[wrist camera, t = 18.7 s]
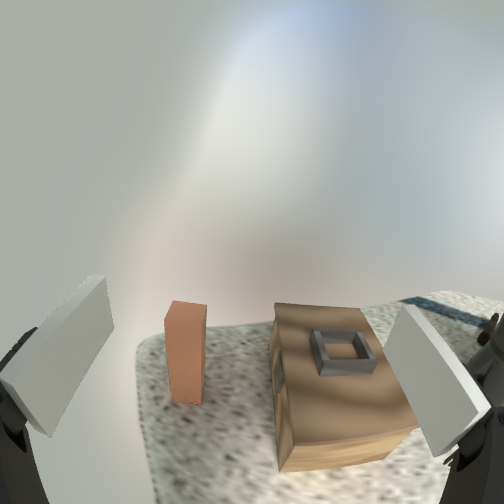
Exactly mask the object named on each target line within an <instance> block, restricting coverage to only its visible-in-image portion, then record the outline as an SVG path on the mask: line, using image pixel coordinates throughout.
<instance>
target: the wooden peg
mask: <svg viewBox="0 0 504 504" xmlns="http://www.w3.org/2000/svg"><path fill="white" fill-rule="evenodd" d="M206 313H207V305H202V304H195V303H187V302H180V301H173V302H172V304H171V306H170V308H169V311H168V313H167V315H166V317H165V320H164V326H165V339H166V351H167V361H168V371H169V380H170V388H171V395H172V400H174V401H180V402H186V403H192V404H199V405H201V402H202V396H203V390H204V383H205V339H206Z"/></svg>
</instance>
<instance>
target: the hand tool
mask: <svg viewBox="0 0 504 504" xmlns="http://www.w3.org/2000/svg"><path fill="white" fill-rule="evenodd" d="M498 319H499V314H498V313H494V315H493V316H492V317H491V319H490V321H489V323H488V324H487V326H486V328H485V329H484V331H483V332H482V333H481V334H480V335H479V337H478V339H477V341H478V343H479V344H481V345H482V346H485V345H486V344H487V343H488V341H489V340H490V338H491V336H492V335H493V333H494V328H495V326H496V323H497V321H498Z"/></svg>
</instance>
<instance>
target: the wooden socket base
mask: <svg viewBox="0 0 504 504" xmlns="http://www.w3.org/2000/svg"><path fill="white" fill-rule="evenodd" d="M274 308H275V315H276V316H275V320H274V325H273V330H272V335H271V339H270V344H269V353H270V365H271V376H272V388H273V399H274V411H275V423H276V435H277V448H278V461H279V472H298V471H312V470H322V469H331V468H338V467H345V466H351V465H357V464H362V463H367V462H372V461H377V460H381V459H384V458H385V457H386V456H387V455H388V454H389V453H390V452H391V451H392V450H394V449H395V448H396V446H397V445H398V444H399V443H400V442H401V441H402V440H403V439H404V438H405V437H406V436H407V435H408V434H409V433H410V432H411V431H412V429H416V428H420V425H419V423H418V420H417V418H416V416H415V414H414V412H413V410H412V408H411V406H410V403H409V401H408V399H407V397H406V395H405V393H404V391H403V389H402V387H401V385H400V383H399V381H398V379H397V377H396V375H395V373H394V372H393V370H392V368H391V366H390V364H389V362H388V360H387V358H386V356H385V354H384V353H383V351H382V350H383V347H382V345H381V344H380V342H379V340H378V338H377V337H376V335H375V333H374V332H373V330H372V328H371V327H370V325H369V323H368V322H367V320H366V318H365V317H364V315H363V313H362V312H361V310H360V308H344V307H327V306H312V305H299V304H286V303H275V306H274Z"/></svg>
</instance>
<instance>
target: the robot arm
mask: <svg viewBox="0 0 504 504" xmlns="http://www.w3.org/2000/svg"><path fill="white" fill-rule="evenodd" d="M113 329H114V325H113V320H112V315H111V310H110V304H109V298H108V292H107V286H106V279H105V277H102V276H96V275H90V276H89V277H88V278H87V279H86V280H85V281H84V282H83V283H82V284H81V285H80V286H79V287H78V288H77V289H76V290H74V291H73V292H72V293H71V294H70V295H69V296H68V297H67V298H66V299H65V300H64V302H62V304H60V305H59V307H57V309H56V310H55V311H54V312H53V313H52V314H51V315H50V316H49V317H48V318H47V319H46V320H45V321H44V322H43V323H42V324H41V325H40V326H39V328H37V327H35V328H33V329H31V330H30V331H28V332H26V333H25V334H24V335H23V336H22V337H21V338H20V340H19V341H18V343H16V344H15V345H14V346H13V347H12V350H10V351H9V352H8V353H7V354H6V356H5V357H4V358H3V359H2V360H1V362H0V504H49V502H48V499H47V497H46V494H45V491H44V488H43V486H42V483H41V480H40V477H39V473H38V470H37V467H36V463H35V460H34V456H33V452H32V448H31V444H30V439H29V434H28V430H27V428H26V426H25V424H26V422H27V420H28V421H29V423H30V424H31V425H32V426H33V428H34V429H35V430H37V431H39V432H40V433H42V434H44V435H46V436H48V437H50V438H51V436H52V434H53V432H54V431H55V428H56V426H57V425H58V423H59V421H60V419H61V417H62V415H63V413H64V411H65V410H66V408H67V406H68V404H69V402H70V400H71V399H72V397H73V395H74V393H75V391H76V390H77V388H78V386H79V384H80V383H81V381H82V379H83V378H84V376H85V374H86V373H87V371H88V369H89V368H90V366H91V364H92V363H93V361H94V359H95V357H96V356H97V354H98V353H99V351H100V349H101V348H102V346H103V345H104V343H105V342H106V340H107V339H108V337H109V335H110V334H111V332H112V331H113ZM382 351H383V353H384V354H385V356H386V358H387V360H388V362H389V364H390V366H391V368H392V370H393V372H394V373H395V375H396V377H397V379H398V381H399V383H400V385H401V387H402V389H403V391H404V393H405V395H406V397H407V399H408V401H409V403H410V406H411V408H412V410H413V412H414V414H415V416H416V418H417V420H418V423H419V425H420V427H421V429H422V431H423V434H424V436H425V438H426V440H427V443H428V445H429V447H430V450H431V452H432V455H433V457H434V458H435V457H437V456H440V455H442V454H445V453H447V452H448V451H450V450H451V449H452V448H453V447H454V446H455V445H456V444H458V446H459V448H458V449H457V450H456V451H455V452H454V453H453V454H452V455H450V456H449V457H448V458H447V459H446V460H445V461H444V463H443V464H444V465H445V464H447V463H448V462H449V461H450V460H451V459H453V461H452V462H450V463H449V464H448V466H450V467H451V468H450V472H449V475H448V479H447V482H446V485H445V488H444V491H443V494H442V497H441V500H440V503H439V504H504V313H503V315H502V317H501V319H500V321H499V323H498V325H497V327H496V329H495V331H494V333H493V335H492V336H491V338H490V340H489V341H488V343H487V344H486V345H485V346H484V347H483V348H482V349H481V350H479V351H478V352H477V353H476V354H475V355H474V356H473V357H472V358H471V359H470V361H469V362H468V364H467V365H465V364H463V363H462V362H461V361H460V360H459V359H458V358H457V357H456V355H455V354H454V353H453V351H452V350H451V349H450V347H449V346H448V345H447V344H446V342H445V341H444V340H443V338H442V337H441V336H440V335H439V333H438V332H437V331H436V330H435V328H434V327H433V326H432V325H431V324H430V322H429V321H428V320H427V319H426V318H425V316H424V315H423V314H422V313H421V312H420V310H419V309H418V308H417V307H416V306H415V305H404V304H402V306H401V309H400V311H399V314H398V316H397V319H396V321H395V324H394V326H393V328H392V331H391V333H390V335H389V337H388V339H387V342H386V344H385V346H384V348H383V350H382Z"/></svg>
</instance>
